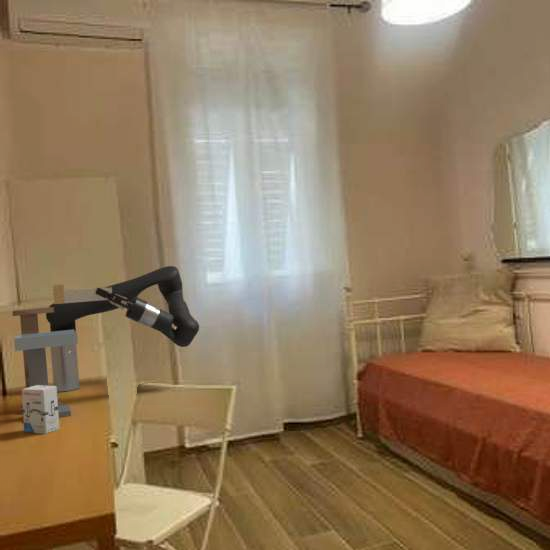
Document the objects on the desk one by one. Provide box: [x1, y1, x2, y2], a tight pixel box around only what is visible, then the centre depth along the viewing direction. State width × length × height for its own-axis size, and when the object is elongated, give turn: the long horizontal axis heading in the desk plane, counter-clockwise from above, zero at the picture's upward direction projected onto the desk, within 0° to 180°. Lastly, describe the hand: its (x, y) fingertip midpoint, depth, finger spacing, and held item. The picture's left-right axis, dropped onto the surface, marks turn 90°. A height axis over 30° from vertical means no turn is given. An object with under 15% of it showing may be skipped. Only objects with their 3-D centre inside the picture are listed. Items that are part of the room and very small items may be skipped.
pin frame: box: [13, 330, 79, 419], centre depth 178 cm, size 14×17×24 cm
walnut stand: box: [12, 306, 63, 415], centre depth 189 cm, size 9×12×32 cm
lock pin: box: [52, 284, 112, 304], centre depth 194 cm, size 6×18×6 cm, turn 113°
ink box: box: [21, 385, 60, 435], centre depth 158 cm, size 9×5×12 cm, turn 62°
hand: (96, 290), depth 195 cm, fingers closed on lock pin, 4 cm apart
